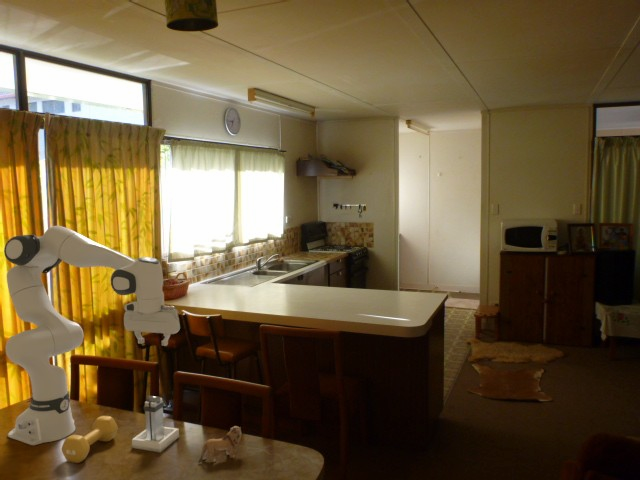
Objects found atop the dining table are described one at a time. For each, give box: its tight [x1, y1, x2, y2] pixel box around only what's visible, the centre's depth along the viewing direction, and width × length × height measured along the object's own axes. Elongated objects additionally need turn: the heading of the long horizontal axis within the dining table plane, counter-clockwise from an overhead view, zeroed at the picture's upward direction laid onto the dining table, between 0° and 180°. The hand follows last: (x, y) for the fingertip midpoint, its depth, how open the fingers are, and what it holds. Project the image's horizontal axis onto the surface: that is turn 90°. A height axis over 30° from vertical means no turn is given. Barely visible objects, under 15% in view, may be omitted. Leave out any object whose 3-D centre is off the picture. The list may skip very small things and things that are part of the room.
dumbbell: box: [61, 415, 119, 464], centre depth 176 cm, size 19×9×8 cm, turn 164°
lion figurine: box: [198, 425, 242, 463], centre depth 169 cm, size 15×5×9 cm, turn 121°
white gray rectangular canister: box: [143, 395, 165, 442], centre depth 180 cm, size 4×5×15 cm
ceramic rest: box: [131, 426, 180, 453], centre depth 180 cm, size 11×11×3 cm
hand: (153, 344), depth 182 cm, fingers open, 8 cm apart
